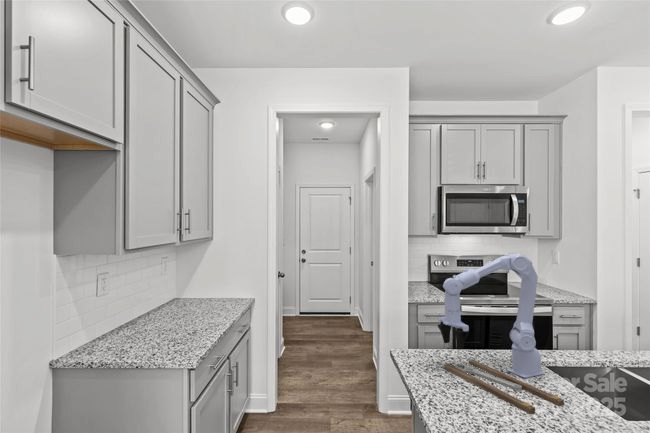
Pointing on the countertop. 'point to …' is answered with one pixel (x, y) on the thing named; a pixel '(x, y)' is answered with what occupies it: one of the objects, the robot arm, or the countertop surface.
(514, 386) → the adjustable wrench
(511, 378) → the guide channel
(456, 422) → the countertop surface
